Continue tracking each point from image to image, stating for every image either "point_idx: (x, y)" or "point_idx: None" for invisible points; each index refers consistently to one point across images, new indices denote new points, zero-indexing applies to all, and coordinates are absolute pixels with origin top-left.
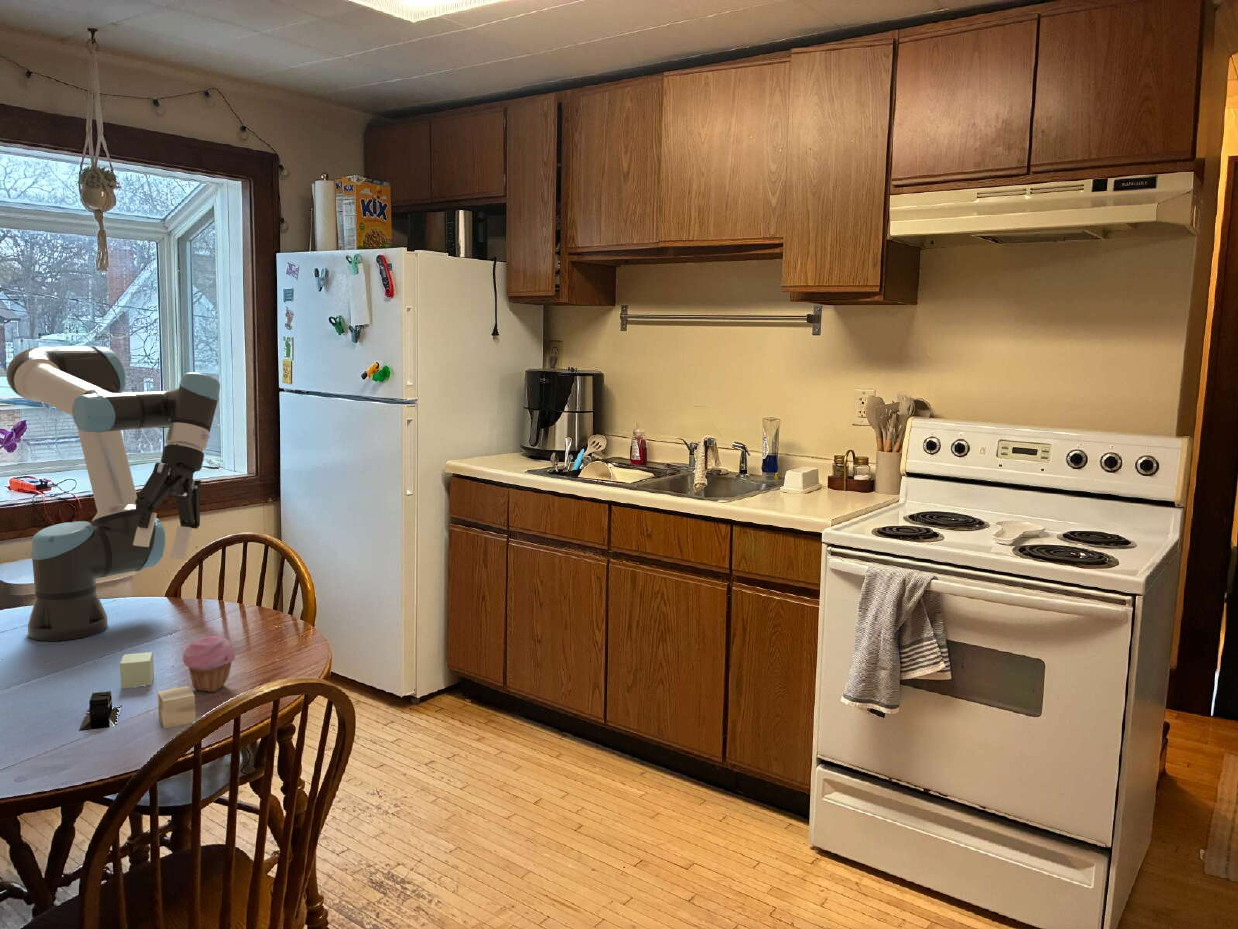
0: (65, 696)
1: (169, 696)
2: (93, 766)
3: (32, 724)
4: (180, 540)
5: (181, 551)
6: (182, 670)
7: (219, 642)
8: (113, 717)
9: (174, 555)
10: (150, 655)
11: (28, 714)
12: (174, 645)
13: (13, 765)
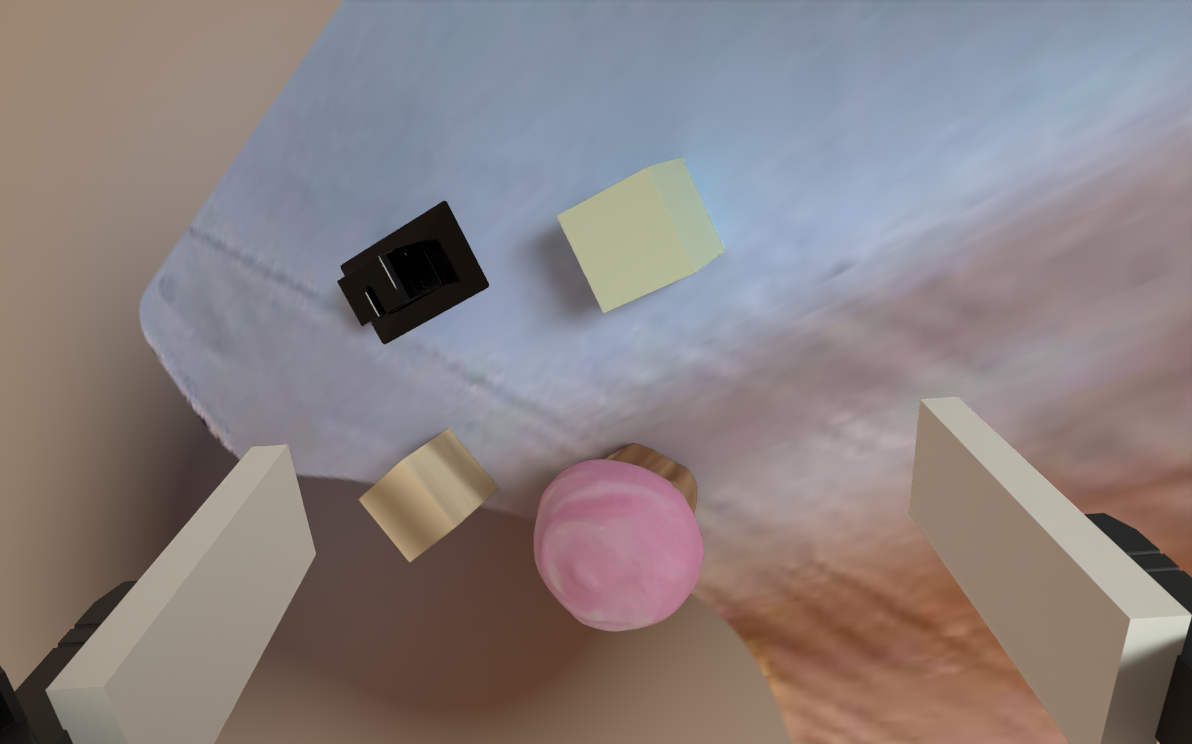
0: (503, 48)
1: (385, 504)
2: (243, 399)
3: (332, 109)
4: (1004, 564)
5: (939, 528)
6: (798, 327)
7: (581, 617)
8: (413, 313)
9: (927, 447)
10: (656, 285)
11: (372, 39)
12: (1154, 116)
13: (191, 232)
